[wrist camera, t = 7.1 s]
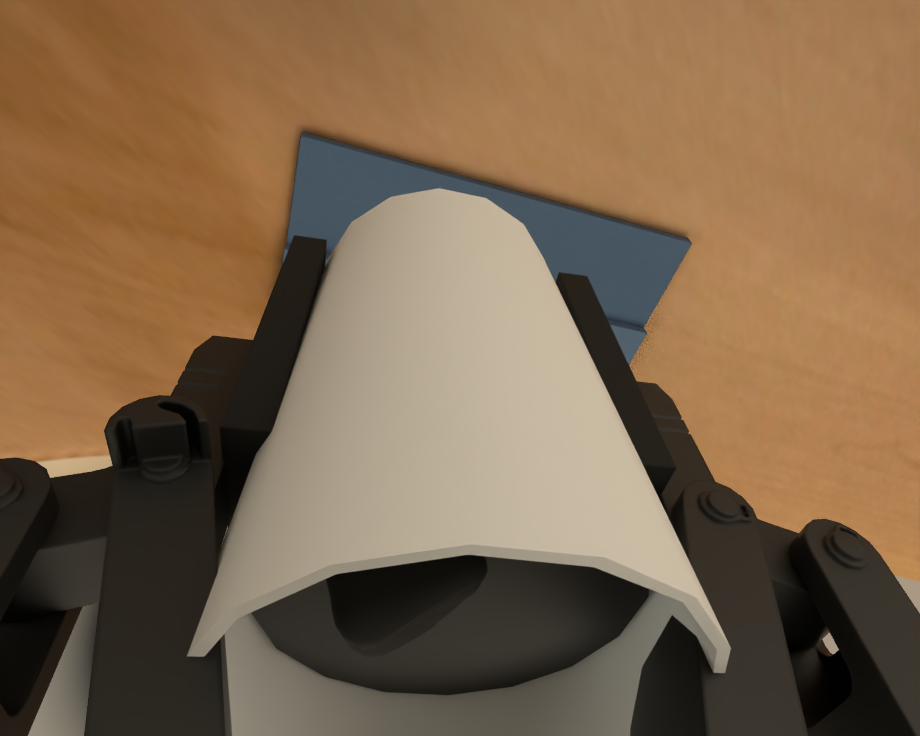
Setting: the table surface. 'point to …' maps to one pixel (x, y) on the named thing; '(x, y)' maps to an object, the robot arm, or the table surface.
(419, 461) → the white paper cup
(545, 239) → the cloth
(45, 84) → the table surface
